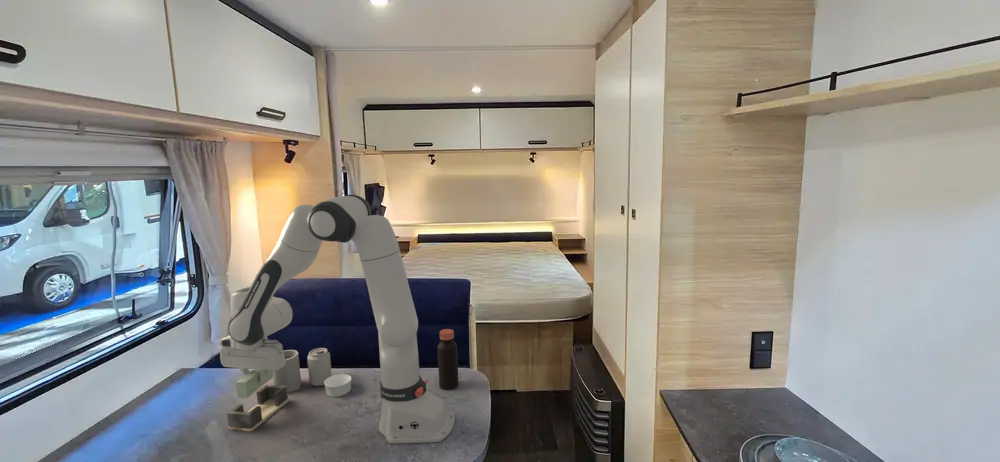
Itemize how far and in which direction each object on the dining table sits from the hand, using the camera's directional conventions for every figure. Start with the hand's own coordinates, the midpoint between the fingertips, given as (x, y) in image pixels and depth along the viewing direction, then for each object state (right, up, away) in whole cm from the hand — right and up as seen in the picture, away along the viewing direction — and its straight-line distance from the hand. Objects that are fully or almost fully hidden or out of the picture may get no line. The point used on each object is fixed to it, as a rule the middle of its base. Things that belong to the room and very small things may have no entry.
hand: (255, 380), depth 135 cm
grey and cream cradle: (0, -11, +2) cm, 12 cm away
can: (+12, -8, +21) cm, 26 cm away
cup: (+1, -9, +18) cm, 21 cm away
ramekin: (+21, -9, +15) cm, 27 cm away
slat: (0, -2, 0) cm, 2 cm away
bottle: (+59, -8, +17) cm, 61 cm away
